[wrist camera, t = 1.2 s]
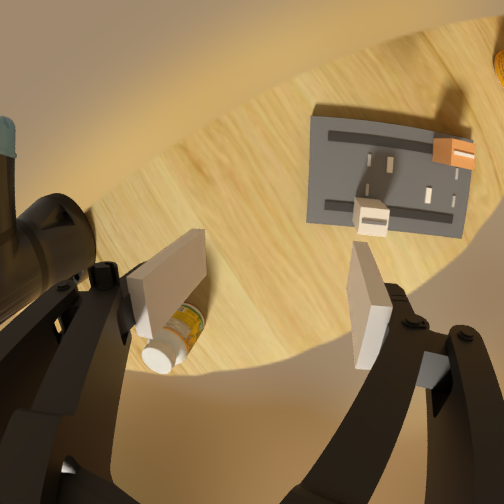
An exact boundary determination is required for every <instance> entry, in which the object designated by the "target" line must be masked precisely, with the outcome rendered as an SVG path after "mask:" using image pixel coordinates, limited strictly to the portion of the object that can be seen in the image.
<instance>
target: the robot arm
mask: <svg viewBox="0 0 504 504" xmlns="http://www.w3.org/2000/svg"><path fill="white" fill-rule="evenodd" d="M15 131H16V130H15V124H14V122H13V121H12V120H11V119H10V118H8V117H5V116H0V325H1V324H2V323H3V322H5V321H6V320H7V319H9V318H10V317H11V316H13V315H14V314H16V313H17V312H18V311H20V310H21V309H22V308H24V307H25V306H27V305H28V304H29V303H31V302H32V301H34V300H35V299H36V298H37V299H36V300H35V301H34V302H33V303H31V304H30V305H29V306H28V307H27V308H26V309H24V310H23V311H22V312H21V313H20V314H19V315H18V316H17V317H15V318H14V319H13V320H12V321H11V322H10V323H9V324H8V325H7V326H6V327H5V328H3V329H2V330H1V331H0V504H140V503H138V502H137V501H136V500H134V499H133V498H131V497H130V496H129V495H128V494H126V493H125V492H124V491H122V490H121V489H120V488H119V487H117V486H116V485H115V484H114V483H113V480H112V477H111V473H110V463H111V454H112V446H113V438H114V431H115V424H116V418H117V411H118V405H119V399H120V394H121V388H122V383H123V377H124V372H125V367H126V362H127V358H128V353H129V348H130V344H131V339H132V337H131V332H130V329H131V328H132V327H133V326H134V325H135V326H136V330H137V335H138V336H141V337H145V338H149V339H154V337H155V336H156V335H157V334H158V333H159V331H160V330H161V329H162V328H163V327H164V325H165V324H166V323H167V322H168V320H169V319H170V318H171V317H172V316H173V314H174V313H175V312H176V311H177V310H178V308H179V307H180V306H181V305H182V304H183V302H184V301H185V300H186V299H187V298H188V296H189V295H190V294H191V293H192V292H193V290H194V289H195V288H196V287H197V286H198V284H199V283H200V282H201V281H202V280H203V279H204V277H205V276H206V275H207V268H206V247H205V229H191V230H190V231H188V232H187V233H185V234H184V235H182V236H181V237H180V238H178V239H177V240H176V241H174V242H173V243H171V244H170V245H169V246H167V247H166V248H164V249H163V250H162V251H160V252H159V253H158V254H156V255H155V256H154V257H152V258H151V259H149V260H148V261H146V262H143V263H140V264H138V265H137V266H136V267H134V268H133V269H132V270H130V271H129V272H128V273H126V274H125V275H124V276H122V277H121V278H119V273H118V267H117V264H116V263H115V262H110V261H105V262H99V263H95V243H94V238H93V234H92V230H91V227H90V225H89V222H88V220H87V218H86V216H85V214H84V213H83V211H82V210H81V208H80V207H79V206H78V205H77V204H76V203H75V202H74V201H73V200H72V199H71V198H69V197H68V196H66V195H64V194H60V193H54V194H50V195H47V196H44V197H41V198H40V199H38V200H37V201H36V202H34V203H33V204H32V205H31V206H30V207H29V208H28V209H26V210H25V211H24V212H23V213H22V214H21V215H20V216H19V217H18V218H16V210H15V186H14V185H15V175H14V174H15V158H16V157H17V154H16V153H15ZM94 263H95V264H94ZM88 277H89V280H90V284H91V288H90V290H89V291H78V287H77V285H78V284H80V283H81V282H82V281H84V280H85V279H87V278H88ZM346 289H347V296H348V304H349V312H350V320H351V329H352V338H353V348H354V358H355V359H354V360H355V369H369V370H370V372H369V374H368V376H367V378H366V380H365V382H364V384H363V386H362V388H361V390H360V392H359V393H358V395H357V397H356V399H355V401H354V402H353V404H352V406H351V408H350V409H349V411H348V413H347V414H346V416H345V418H344V419H343V421H342V423H341V425H340V426H339V428H338V429H337V431H336V433H335V434H334V436H333V437H332V439H331V441H330V442H329V444H328V445H327V447H326V448H325V450H324V451H323V453H322V454H321V456H320V457H319V459H318V460H317V461H316V463H315V464H314V466H313V467H312V469H311V470H310V471H309V473H308V474H307V475H306V477H305V478H304V479H303V481H302V482H301V483H300V484H299V485H296V486H295V487H294V488H293V489H292V490H291V491H290V492H289V493H288V494H287V495H286V497H285V498H284V499H283V500H282V501H281V502H280V504H368V502H369V500H370V498H371V496H372V494H373V492H374V490H375V488H376V486H377V484H378V482H379V480H380V478H381V476H382V474H383V472H384V469H385V467H386V465H387V462H388V460H389V458H390V456H391V453H392V451H393V448H394V446H395V443H396V441H397V438H398V436H399V433H400V430H401V428H402V425H403V422H404V419H405V417H406V414H407V411H408V408H409V405H410V402H411V398H412V395H413V392H414V389H415V385H416V386H420V387H424V388H426V403H427V429H428V430H427V431H428V454H427V455H428V456H427V479H426V480H427V481H426V494H425V504H504V400H503V397H502V393H501V390H500V387H499V384H498V380H497V377H496V374H495V371H494V369H493V366H492V363H491V360H490V358H489V355H488V352H487V349H486V347H485V345H484V342H483V339H482V337H481V335H480V334H479V333H478V332H477V331H476V330H475V329H474V328H472V327H470V326H465V325H456V326H453V327H452V328H451V329H450V331H449V334H448V335H445V334H440V333H436V332H433V331H431V330H429V323H428V322H427V321H426V319H424V318H423V317H421V316H419V315H416V314H415V313H414V311H413V309H412V307H411V305H410V303H409V300H408V298H407V297H406V294H405V292H404V290H403V289H402V288H401V287H400V286H399V285H397V284H392V283H384V282H383V279H382V277H381V274H380V272H379V269H378V267H377V264H376V262H375V260H374V257H373V255H372V253H371V250H370V248H369V246H368V243H367V242H357V241H353V246H352V254H351V261H350V268H349V275H348V282H347V288H346ZM39 296H40V297H39ZM57 318H58V320H59V323H60V326H61V329H62V330H61V331H60V332H59V333H58V332H57V329H56V326H55V323H54V322H55V321H56V319H57Z"/></svg>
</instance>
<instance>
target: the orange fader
mask: <svg viewBox="0 0 504 504" xmlns="http://www.w3.org/2000/svg"><path fill="white" fill-rule="evenodd" d="M475 153H476V144H474V143H470V142H466V141H461V140H457V139H453V138H434V139H433V158H432V162H437V163H442V164H446V165H451V166H456V167H461V168H465V169H470V170H474V167H475Z"/></svg>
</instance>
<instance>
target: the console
mask: <svg viewBox="0 0 504 504" xmlns="http://www.w3.org/2000/svg"><path fill="white" fill-rule="evenodd" d="M434 138H453V139H457V140H461V141H466V142H470V143H473V140H470V139H466V138H462V137H458V136H453V135H449V134H444V133H440V132H435V131H430V130H425V129H419V128H414V127H408V126H402V125H396V124H389V123H382V122H374V121H366V120H357V119H347V118H335V117H322V116H311V124H310V160H309V184H308V204H307V221H306V223H316V224H328V225H339V226H350V227H355V226H354V223H353V221H352V220H353V210H354V198H355V197H358V198H368V199H377V200H380V201H381V202H382V203H383V204H384V205H385V206H386V207H387V208H388V209H389V210H390V213H389V221H388V229H387V230H391V231H400V232H409V233H418V234H427V235H435V236H444V237H452V238H460V239H462V234H463V228H464V223H465V217H466V211H467V204H468V197H469V189H470V180H471V170H470V169H465V168H461V167H456V166H451V165H446V164H442V163H437V162H432V158H433V139H434Z"/></svg>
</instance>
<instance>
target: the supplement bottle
mask: <svg viewBox="0 0 504 504" xmlns="http://www.w3.org/2000/svg"><path fill="white" fill-rule="evenodd" d="M203 329H204V318H203V316H202V314H201V312H200V311H199V310H198V309H197V308H196V307H194V306H192V305H190V304H187V303H183V304H182V305H181V306H180V307H179V308H178V310H177V311H176V312H175V313H174V314H173V316H172V317H171V318H170V319H169V320H168V322H167V323H166V324H165V325H164V327H163V328H162V329H161V330H160V331H159V333H158V334H157V335H156V336H155V337H154V339H149V338H148V340H147V343H148V344H147V345H146V347H145V348H144V349H143V351H142V358H143V360H144V362H145V363H146V365H147V366H148V367H149V368H150V369H152V370H153V371H155V372H158V373H161V374H166V373H169V372H170V371H171V370H172V368H173V367H174V366H175V365H176V364H179V363H181V362H183V361H184V360H185V358H186V357H187V355H188V354H189V352H190V350H191V349H192V347H193V346H194V344H195V342H196V341H197V339H198V338H199V336H200V334H201V333H202V331H203Z"/></svg>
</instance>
